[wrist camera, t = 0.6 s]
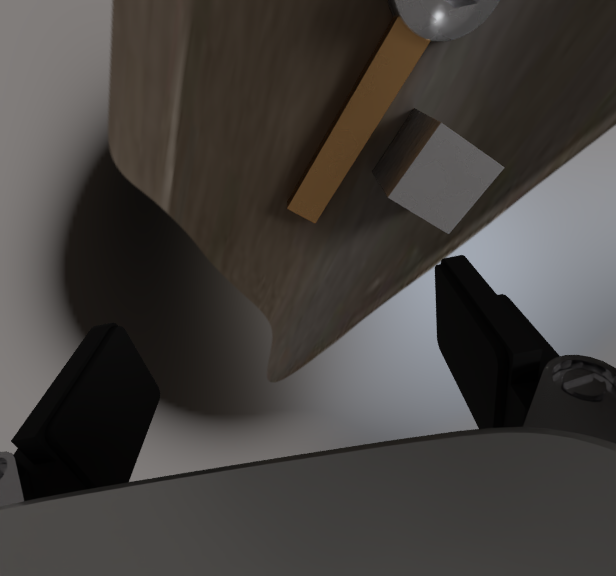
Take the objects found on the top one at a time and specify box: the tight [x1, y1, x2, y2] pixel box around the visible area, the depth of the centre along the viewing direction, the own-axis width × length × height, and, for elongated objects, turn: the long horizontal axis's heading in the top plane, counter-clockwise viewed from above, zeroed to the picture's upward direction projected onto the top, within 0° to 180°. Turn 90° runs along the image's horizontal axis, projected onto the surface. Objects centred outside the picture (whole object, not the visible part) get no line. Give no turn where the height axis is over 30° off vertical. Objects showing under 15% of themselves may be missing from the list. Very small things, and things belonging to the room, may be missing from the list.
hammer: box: [287, 0, 500, 223], centre depth 29 cm, size 24×8×6 cm, turn 150°
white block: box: [372, 108, 505, 234], centre depth 32 cm, size 6×6×7 cm
